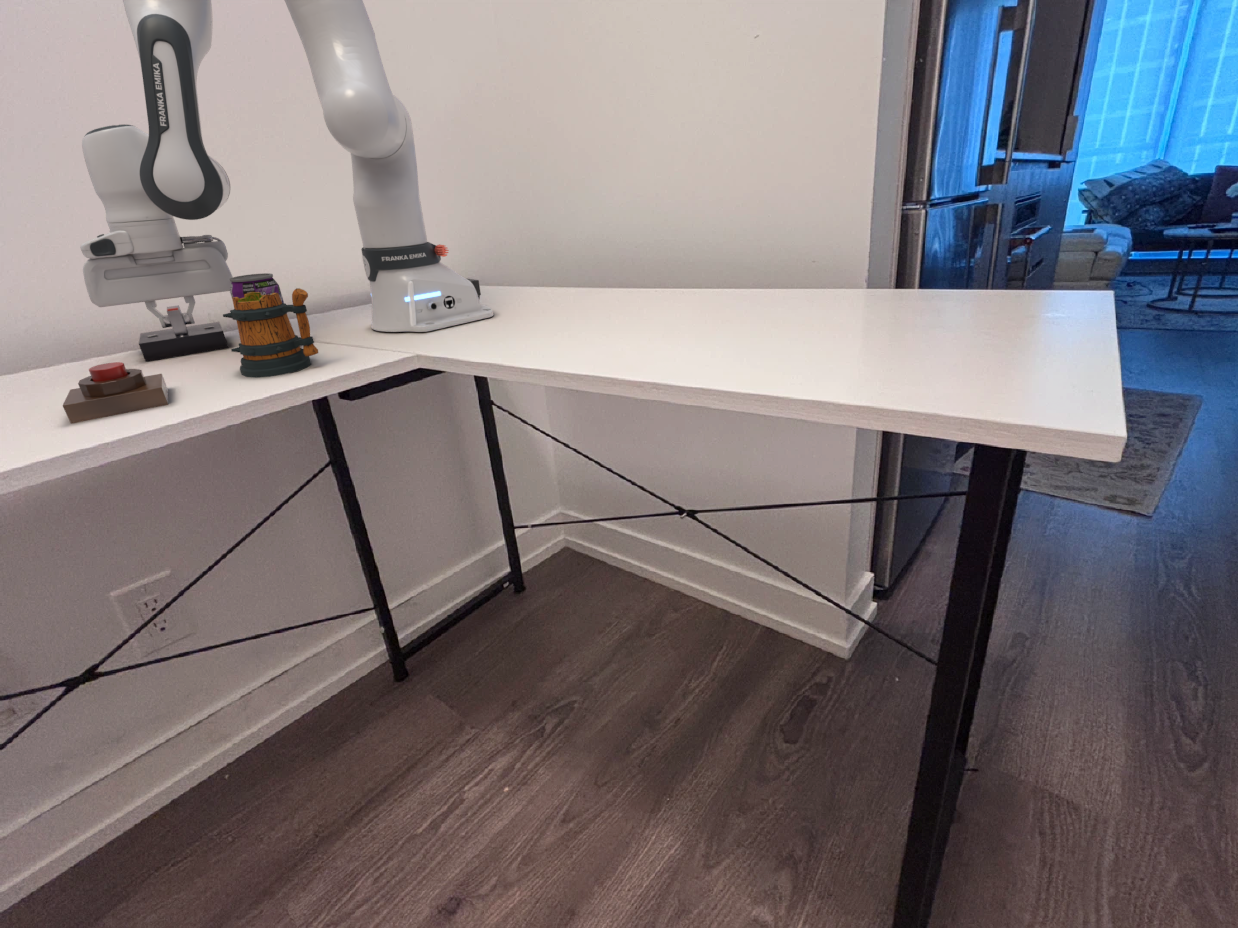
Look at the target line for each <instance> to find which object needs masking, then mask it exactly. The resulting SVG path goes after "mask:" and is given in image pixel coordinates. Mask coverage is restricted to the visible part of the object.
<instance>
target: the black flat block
mask: <svg viewBox="0 0 1238 928" xmlns="http://www.w3.org/2000/svg"><path fill="white" fill-rule="evenodd" d="M186 327H187V332H188V334H181V335H175V333H174V330H173V328H167V329H162V330H161V329H159V330H154V331H146V332H140V333H139V340H138V346H139V348H140V351H141V354H142V356H143V359H144V361H145V363H146V362H147V363H148V362H153V361H160V360H165V359H171V358H176V357H183V356H189V355H196V354H201V353H208V352H213V351H219V350H225V349H229V348H230V347H229V344H228V340H227V337H226V334H225V332H224V329H223V327H222V325H221V323H220V321H215V322H207V323H203V324H201V323H200V324H195V325H194V324H193V325H189V326H188V325H186Z"/></svg>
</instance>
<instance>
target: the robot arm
mask: <svg viewBox="0 0 1238 928" xmlns="http://www.w3.org/2000/svg"><path fill="white" fill-rule="evenodd" d="M122 3H123V7H124V11H125V14H126V17H127V18H126V19H127V21H128V24H129V28H130V30H131V34H132V37H133V41H134V44H135V48H136V52H137V54H138V58H139V61H140V62H139V63H140V68H141V69H140V70H141V77H142V84H143V91H144V92H143V93H144V99H145V108H146V115H147V117H146V118H147V123H148V125H147V126H148V133H147V132H146V131H144V130H142V129H140V128H138V127H137V126H136V125H131V124H112V125H106V126H102V127H97V128H94V129H91V130H90V131H88V132H86V134H85V135H84V136H83V138H82V140H81V147H82V154H83V158H84V162H85V165H86V169H87V172H88V176H89V178H90V181H91V184H92V186H93V190H94V192H95V194H96V195H97V197H98V199H100V201H101V203H102V205H103V206H104V211H105V221H106V223H107V226H108V229H109V232H108V233H105V234H104V233H102V234H99V235H97V236H96V237H95V238H92V239H90V240H86V241H85V242H83V243H81V244H80V252H81V254H82V255H83V257H84V258H87V260H86V261H85V262H84V264H83V266H82V274H83V280H84V284H85V288H86V291H87V294H88V297H89V300H90V301H91V303H92V304H93V305H95V306H96V307H98V308H107V307H114V306H115V307H116V306H122V305H131V304H139V303H144V304H145V307H146V309H147V310H148V311H149V312H150V313H151V314H153V316H155V317H156V318H157V319H159V322H160V325H161V327H162V329H166V328H167V329H168V328H172V325H171V322H170V319H169V317H168V314H166V315H163V314H162V312H160V311H159V310H158V309H157V306H158V304H157V301H161V300H171V299H178V298H183V300H184V302H185V304H188V306H187V310H186V312H182V313H181V314H182V318H183V319H184V323H185V325H186V326H188V325H194V324H196V323H195V319H194V316H193V312H194V308H195V305H196V300H195V296H202V295H209V294H216V293H224V292H226V293H227V292H230V287H231V282H230V278H233V277H234V276H233V274H232V272H231V270H230V267H229V265H228V263H227V262H226V261H228V258H229V252H228V250H227V247H226V244H225V243H224V241H223V240H222V239H220V238H219V237H216V236H213V235H212V234H203V235H189V236H188V235H187V236H180V233H179V229H178V226H177V224H176V221H175V218H178V219H181V220H187V221H197V220H201V219H205V218H207V217H210V216H211V215H213V214H214V213H215V212H216V211H218V210H219V209H220V208H221V207H223V206H224V205H225V204H226V203H227V201H228V200H229V196H230V194H231V182H230V179H229V175H228V174H227V171H226V170H225V169H224V167H223V166H222V165H221V164H220V163H219V162H218V161H217V160H216V159H214V158H213V157H212V156H210V155H208V152H207V150H206V148H205V145H204V140H203V133H202V132H203V131H202V125H201V115H200V107H199V106H200V105H199V97H198V88H197V85H198V84H197V83H198V72H199V68H200V65H201V64H202V61H203V60H204V58H205V57H206V55H207V54H208V53H209V51H210V50H211V48H212V41H213V22H214V21H213V6H212V5H213V4H212V0H122ZM284 3H285V6H286V8H287V10H288V12H289V15H290V17H291V20H292V22H293V25H294V27H295V29H296V32H297V34H298V36H299V39H300V41H301V44H302V47H303V49H304V52H305V55H306V58H307V61H308V65H309V69H310V73H311V76H312V80H313V83H314V87H315V90H316V93H317V96H318V100H319V103H320V105H321V108H322V115H323V119H324V123H325V126H326V128H327V129H328V131H329V133H330V134H331V136H332V137H333V139H334V140H335V141H336V142H337V143H338V144H339V146H340V147H341V148H343V149H344V150H346V151H347V152H349V153H350V159H351V170H352V182H353V183H352V184H353V193H352V202H353V205H354V210H355V215H356V219H357V224H358V228H359V234H360V238H361V242H362V247H361V249H360V250H361V259H362V264H363V268H364V272H365V275H366V277H367V280H368V281H369V287H370V297H371V324H370V325H371V327H370V328H371V329H372V330H374V331H377V332H384V333H385V332H387V333H399V332H400V333H401V332H404V333H405V332H415V333H426V332H431V331H436V330H440V329H444V328H445V329H446V328H449V327H454V326H458V325H462V324H466V323H471V322H476V321H479V320H484V319H489V318H492V317H493V316H494V312H493V311H494V310H493V309H492V307H490V306H488V305H485V304H482V303H481V302H480V301H481V295H482V294H481V287H480V281H479V279H473V278H466V277H464V276H463V275H462V274H460V273H458V272H457V271H455V270H454V269H453V268H451V267H449V266H447V265H445V264H444V263H443V262H441V260H442V258H443V257H447V256H448V254H449V248H448V247H447V246H446V245H445V244H441V243H440V244H437V245H436V244H434V243H432V242H430V241H428V236H427V231H426V225H425V220H424V214H423V208H422V202H421V197H420V188H419V175H418V164H417V153H416V145H415V138H414V130H413V123H412V119H411V115H410V112H409V111H408V108H407V107H406V106H405V104H404V103H403V102H402V101H401V100H400V98H399V97H397V96H396V95H394V93H393V91H392V89H391V86H390V84H389V81H388V78H387V75H386V71H385V68H384V64H383V62H382V57H381V55H380V54H381V53H380V51H379V47H378V43H377V39H376V34H375V30H374V28H373V24H372V21H371V20H370V17H369V14H368V11H367V9H366V6H365V4H364V3H365V2H364V0H284ZM174 217H175V218H174ZM441 257H442V258H441Z"/></svg>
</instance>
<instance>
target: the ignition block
mask: <svg viewBox="0 0 1238 928" xmlns="http://www.w3.org/2000/svg"><path fill="white" fill-rule="evenodd" d="M126 370H127V373H128V375H127V376H124V377H121V378H117V379H113V380H107V381H98V382H94V381H93V379H92V377H91V375H88V376H86V377H83V378H81V379H79V380H78V383H77V384H78V387H77V388H71V389H69V391H68V393H67V396H66V398H65V400H64V402H63V404H62V408H63V410H64V412H65V414H66V416H67V418H68V420H69V423H70V424H77V423H83V422H88V421H92V420H97V419H102V418H108V417H113V416H117V415H123V414H128V413H132V412H138V411H143V410H147V409H154V408H158V407H164V406H168V405H169V388H168V386H167V384H166V380H165V378H164V376H163V374H162V373H156V374H151V375H145V376H144V372H143V370H142V369H139V368H126Z"/></svg>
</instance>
